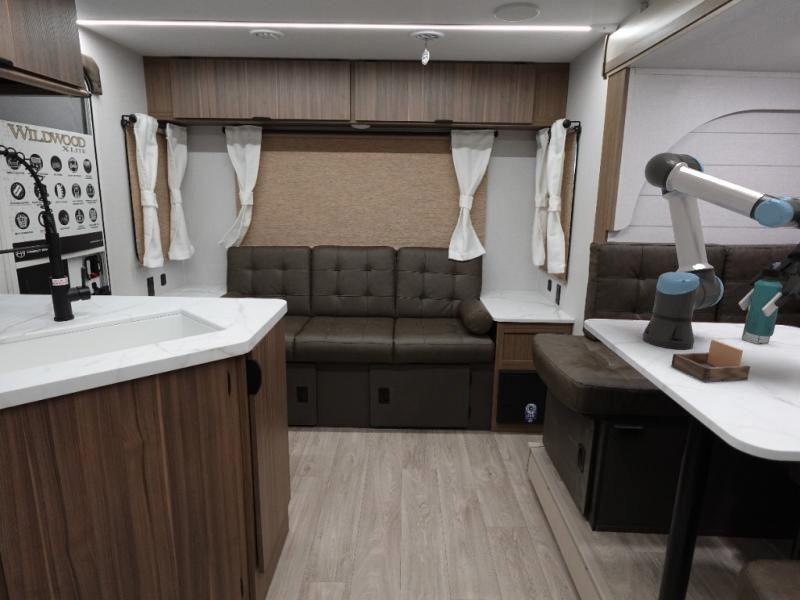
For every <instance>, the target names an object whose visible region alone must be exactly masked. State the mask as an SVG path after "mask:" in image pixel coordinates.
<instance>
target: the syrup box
mask: <svg viewBox="0 0 800 600" xmlns="http://www.w3.org/2000/svg"><path fill="white" fill-rule="evenodd" d="M749 310H750V306H749V307H748V308H747V313H746V317H745V321H744V322H745V323H744V327H743V331H742V335H741V340H742V341H745V340H746V341H745V342H748V341H749V343H751V342H753V344H755V343H756V344H755V345H761V344H760V343H765V344H769V343H770V339H771V336H769V337H766V336H758V335H753V334H750V333H747V332H746V323H747V319H748V315H749Z"/></svg>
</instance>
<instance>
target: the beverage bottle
mask: <svg viewBox="0 0 800 600" xmlns="http://www.w3.org/2000/svg"><path fill="white" fill-rule="evenodd" d="M761 271H762V273H761V275H762V276H768V277H780V272H781V271H780V270H779V269H774V268H765V267H763V268H762V270H761ZM754 285H755V286H754V291H753V296H752V301H751V305H750V310H749V315H748V319H747V323H746V332H747V333H750V334H753V335H758V336H766V337H769V336H770V337H772V336H773V335H774V334H775V333H774V332H775V328H776V324H777V319H778V312H779V307H778V308H777V309H776V310H775V311H774V312H773V313H772V314H771V315H770V316H769V317H768V316H766V315H765V314H764V312H763V311H762V308H763V307H764V306H765V305H766V304H767V303H768V302H769V301H770V300H771V299H772V298H773V297H774V296H775V295H776V294H777V293H778V292H779V293H782V291H783V287H784V286H783V285H782V283H781V282H780V281H779V280H778V281H774V280H764V279H761V280H759V281H757V282H755V284H754Z"/></svg>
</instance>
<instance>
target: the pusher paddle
mask: <svg viewBox="0 0 800 600" xmlns="http://www.w3.org/2000/svg"><path fill="white" fill-rule="evenodd" d="M708 352H709V354H708V359H707V363H708V364H711V365H713V366H715V367H727V366H741V363H742V359H743V353H744V350H743V349H740V348H738V347H735V346H732V345H729V344H726V343H724V342H722V341H719V340H715V339H711V340H710V343H709V351H708Z"/></svg>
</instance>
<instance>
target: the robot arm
mask: <svg viewBox="0 0 800 600" xmlns="http://www.w3.org/2000/svg"><path fill="white" fill-rule="evenodd" d="M704 170H705V169H704V166H703V163H702V162H701V161H700V159H698V158H697V157H695V156H692V155H689V154H687V153H686V154H685V153H683V154H682V153H680V154H679V153H672V152H660V153H657V154H655V155H654V156H653V157H651V158H650V159H649V160H648V161H647V163H646V165H645V168H644V177H645V179H646V181H647V183H648V184H649V185H650V186H653V187H656V188H658V189H659V188H660V189H661V194H662V199H665V200H666V201H667V202H668V208H669V213H670V220H671V227H672V231H673V232H672V233H673V238H674V243H675V250H676V255H677V261H678V268H677V270H676V271H669V272H668V271H667V272H664V273H662V274H660V276H658V280H657V283H656V291H655V297H654V303H653V308H652V316H651V318H650V320H649V322H648V324H647V326H646V328H645V329H644V331H643V335H642V340H643V341H644V342H646V343H649V344H651V345H654V346H658V347H661V348H667V349H675V350H689V349H692V348H693V347H694V345H695V344H694V343H695V335H694V332H693V330H694V329H693V325H692V321H693V315H694V311H695V310H702V309H708V308H709V307H713V306H714V305H716V304H718V303H719V301H720V300H721V299H722V297H723V294H724V290H725V289H724V285H723V282H722V280H721V279H720V278H719V277H718V276H717V275H716V274H715V268H714V266H713V265H711V264H709V262H708V258H707V251H706V245H705V240H704V232H703V227H702V222H701V214H700V210H699V202H698V199H699V200H701V201H705V202H706V203H709V204H712V205H714V206H717V207H720V208H722V209H726V210H727V211H730V212H732V213H736V214H737V215H738V214H739V215H741V216H744V217H746V218H749V219H750V220H754V221H756V222H757V223H758V224H759V225H761V226H763V227H766V228H773V229H776V228H795V229H798V230H800V199H799V198H795V197H790V196H787V195H786V196H785V195H784V196H781V197H780V198H779V197H776V196H774V195H770V194H768V193H765V192H762V191H759V190H757V189H752V188H750V187H747V186H745V185H744V186H743V185H741V184H738V183H736V182H733V181H729V180H727V179H725V178H720V177H717V176H715V175H712V174H709V173H706V172H705V171H704ZM764 268H774V269H779V270H780V277H768V276H762V275H761V273H762V270H760V272H758V273H757V274H756V275H755V276H754V277H753V278H751V279H750V280H749V281H748V282H747V285H748V286H749V288H750V289H749V290H748V291H747V292H746V293H745V295H744V297H743V298H742V299H741V300H740V301H739V302H738V305H739V307H740V308H741V309H742V310H743V311H746V310H748V308H749V306H750V305H751V301H752V296H753V291H754V286H755V285H754V284H755V282H757V281H759V280H761V279H764V280H774V281H778V282H779V281H780V280H784V279H786V278H788V281H787V282H786V285H785V287H784V289H782V291H781V293H779V292H778V293H777V294H776V295H775V296H774V297H773V298H772V299H771V300H770V301H769V302H768V303H767V304H766V305H765V306H764V307H763V308H762V311H763V312H764V314H765V315H766V316H768V317H769V316H770V315H771V314H772V313H773V312H774V311H775V310H776V309H777V308H778V309H779V308H782V306H784V305H785V304H786V303H787V301H789V300H791V299H794V300H800V241H798V243H797V244H796V245H795V246H794V247H793V248H792V249H791V250H790V251H789V252H788V255H787V257H786V258H785V259H783V260H781V261H777V262H776V261H775V260H773V259H772V260H770V261H769V262H768V264H767V265H766V266H765V267H764Z"/></svg>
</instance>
